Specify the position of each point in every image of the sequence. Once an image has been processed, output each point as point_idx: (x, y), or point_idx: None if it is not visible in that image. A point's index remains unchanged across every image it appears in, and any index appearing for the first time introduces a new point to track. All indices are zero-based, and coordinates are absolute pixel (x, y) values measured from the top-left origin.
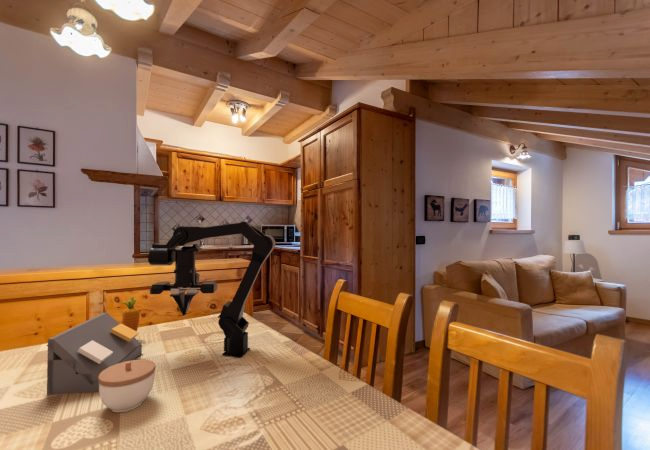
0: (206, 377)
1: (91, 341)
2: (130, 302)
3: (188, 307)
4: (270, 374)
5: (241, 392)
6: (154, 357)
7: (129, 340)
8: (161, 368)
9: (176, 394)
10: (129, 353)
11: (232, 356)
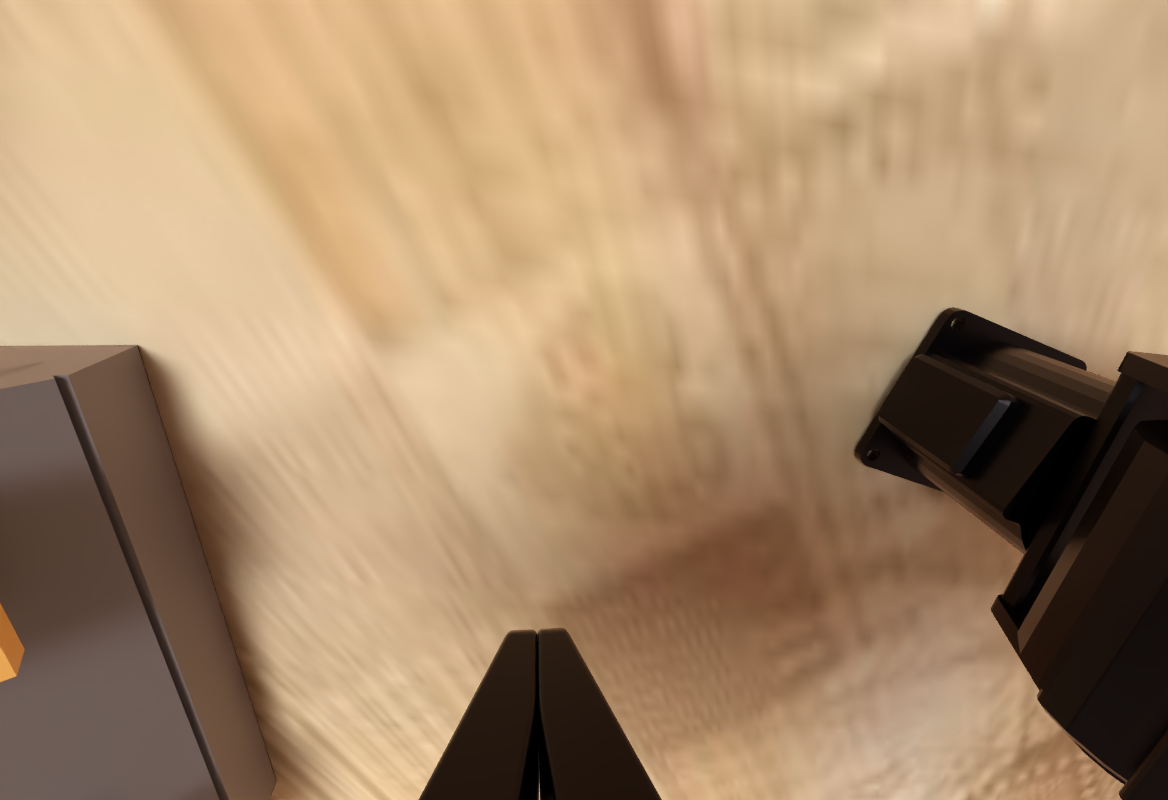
0: (765, 689)
1: None
2: None
3: (632, 772)
4: None
5: (916, 783)
6: (321, 436)
7: (19, 659)
8: (473, 597)
9: None
10: (129, 571)
11: (925, 482)
